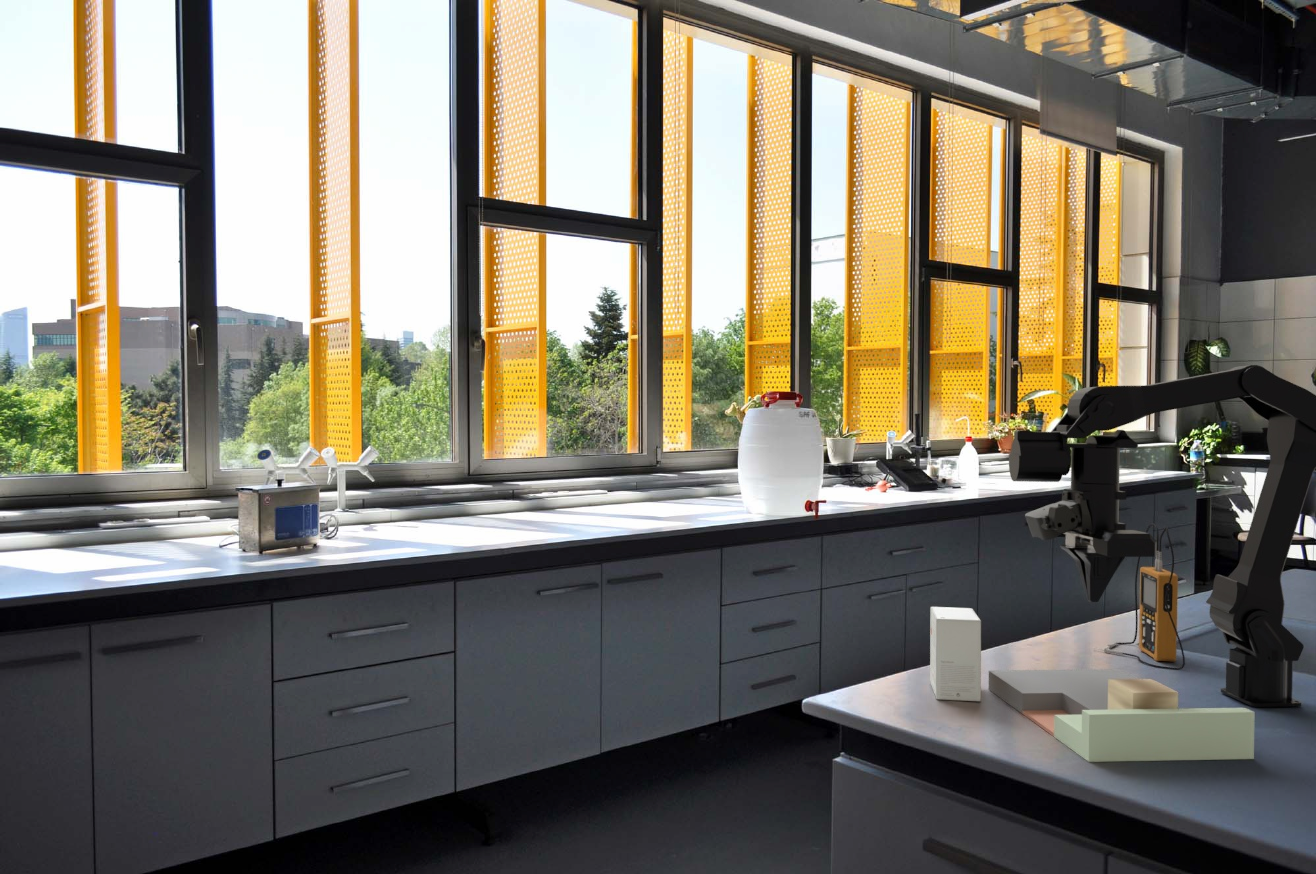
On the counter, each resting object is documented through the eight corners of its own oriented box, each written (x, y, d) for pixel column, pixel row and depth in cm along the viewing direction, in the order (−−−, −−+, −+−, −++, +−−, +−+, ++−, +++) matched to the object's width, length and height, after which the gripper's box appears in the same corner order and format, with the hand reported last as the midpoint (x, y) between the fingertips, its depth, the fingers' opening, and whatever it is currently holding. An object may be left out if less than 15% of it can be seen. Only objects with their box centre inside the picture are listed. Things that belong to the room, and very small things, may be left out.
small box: (981, 703, 116) (982, 620, 116) (935, 700, 117) (935, 618, 117) (972, 685, 124) (973, 607, 124) (929, 682, 125) (930, 605, 125)
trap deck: (1120, 687, 123) (1120, 650, 123) (1253, 758, 98) (1254, 712, 97) (988, 689, 122) (988, 651, 122) (1088, 761, 97) (1089, 714, 96)
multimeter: (1081, 642, 148) (1083, 518, 147) (1148, 645, 146) (1150, 519, 146) (1114, 667, 133) (1116, 529, 132) (1188, 670, 132) (1190, 531, 131)
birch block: (1150, 713, 104) (1150, 678, 104) (1177, 728, 99) (1178, 692, 99) (1107, 714, 104) (1108, 679, 104) (1132, 729, 99) (1133, 692, 99)
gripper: (1003, 477, 129) (1002, 588, 129) (1070, 488, 110) (1068, 617, 111) (1081, 477, 130) (1079, 588, 130) (1160, 488, 111) (1158, 617, 111)
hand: (1092, 601), depth 120 cm, fingers closed
